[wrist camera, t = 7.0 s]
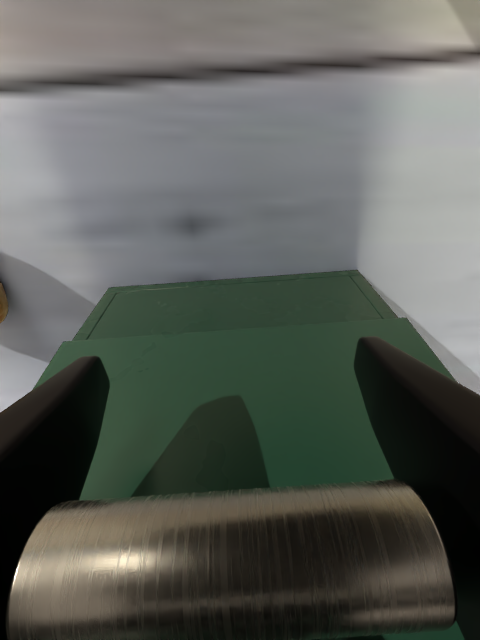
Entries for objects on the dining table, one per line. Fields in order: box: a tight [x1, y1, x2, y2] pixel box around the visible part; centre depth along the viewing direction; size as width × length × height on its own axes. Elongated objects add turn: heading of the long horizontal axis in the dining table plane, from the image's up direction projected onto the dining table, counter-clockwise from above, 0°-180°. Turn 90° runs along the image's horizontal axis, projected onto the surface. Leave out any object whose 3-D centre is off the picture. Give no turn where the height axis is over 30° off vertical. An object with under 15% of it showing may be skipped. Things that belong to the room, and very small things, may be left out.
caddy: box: [72, 270, 398, 341], centre depth 20 cm, size 14×14×5 cm
